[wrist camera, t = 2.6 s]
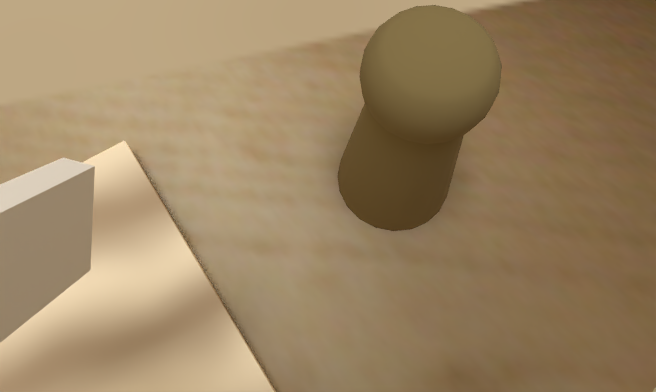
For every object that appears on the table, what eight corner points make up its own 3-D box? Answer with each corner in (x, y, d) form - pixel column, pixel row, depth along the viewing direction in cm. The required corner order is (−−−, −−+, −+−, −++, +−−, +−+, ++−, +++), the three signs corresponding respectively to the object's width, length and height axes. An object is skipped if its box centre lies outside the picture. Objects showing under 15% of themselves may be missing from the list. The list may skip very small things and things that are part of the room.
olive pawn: (359, 116, 29) (384, -41, 19) (460, 150, 28) (542, 7, 18) (321, 207, 27) (327, 85, 17) (430, 247, 26) (505, 144, 16)
